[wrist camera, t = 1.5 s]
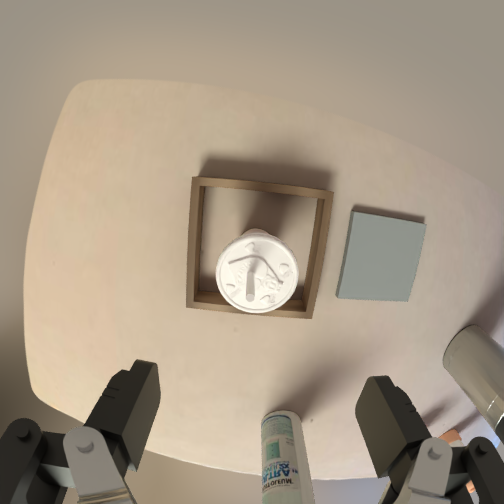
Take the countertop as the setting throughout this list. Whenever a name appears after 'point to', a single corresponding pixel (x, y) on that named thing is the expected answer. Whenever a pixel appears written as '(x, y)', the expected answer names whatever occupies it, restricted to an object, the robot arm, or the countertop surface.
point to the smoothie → (257, 272)
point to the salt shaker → (455, 441)
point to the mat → (380, 258)
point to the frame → (316, 256)
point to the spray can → (284, 460)
